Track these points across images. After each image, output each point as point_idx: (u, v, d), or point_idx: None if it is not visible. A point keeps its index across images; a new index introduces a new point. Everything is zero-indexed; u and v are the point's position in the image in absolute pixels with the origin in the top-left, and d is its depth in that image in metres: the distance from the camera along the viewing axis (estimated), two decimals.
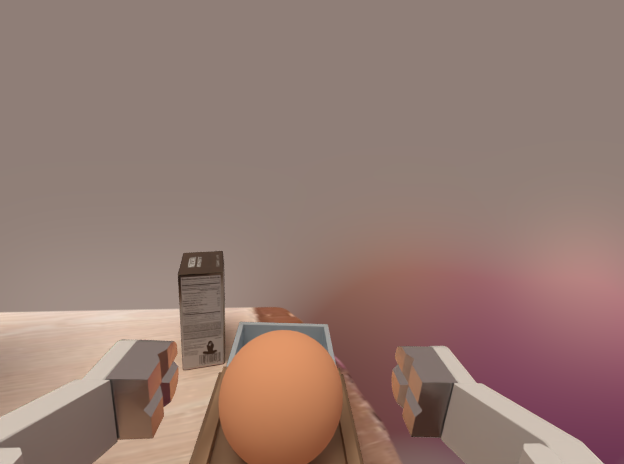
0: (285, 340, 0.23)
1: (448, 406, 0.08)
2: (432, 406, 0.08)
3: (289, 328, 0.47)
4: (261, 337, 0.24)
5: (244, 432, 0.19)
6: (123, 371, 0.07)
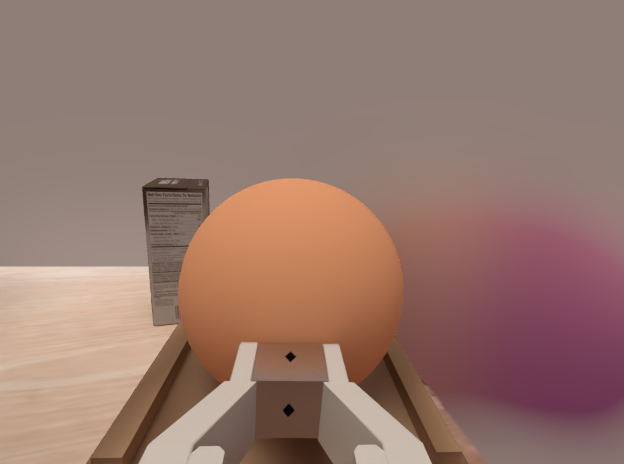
0: None
1: (321, 406, 0.07)
2: (304, 406, 0.07)
3: None
4: None
5: (223, 291, 0.09)
6: (263, 373, 0.07)
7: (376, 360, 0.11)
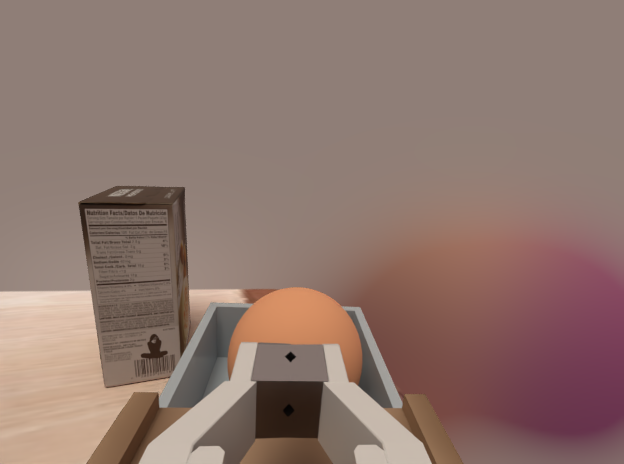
0: None
1: (321, 406, 0.07)
2: (304, 406, 0.07)
3: None
4: None
5: None
6: (263, 373, 0.07)
7: None
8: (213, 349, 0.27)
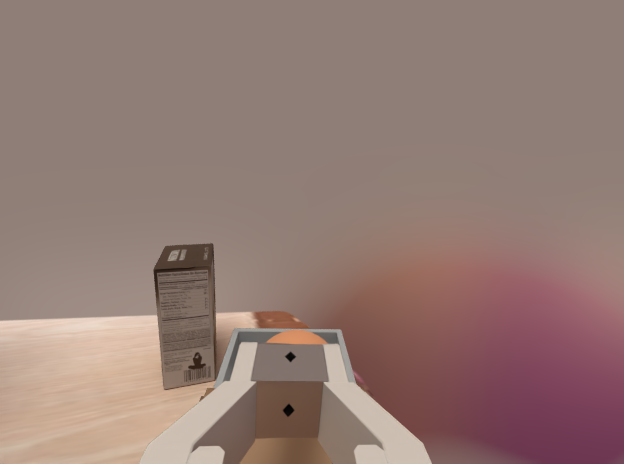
0: None
1: (321, 406, 0.07)
2: (304, 406, 0.07)
3: None
4: None
5: None
6: (263, 373, 0.07)
7: None
8: None
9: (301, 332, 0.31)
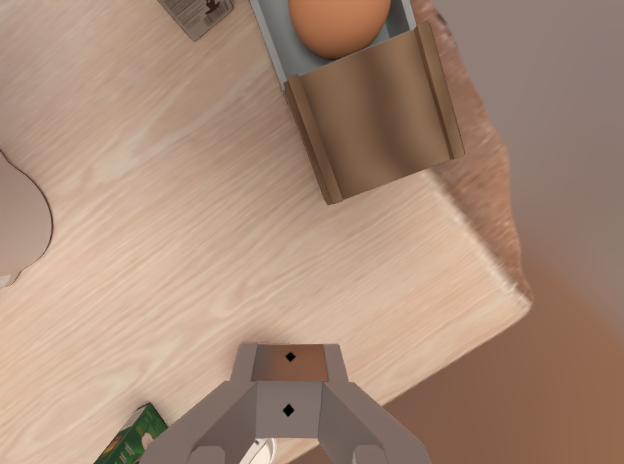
0: None
1: (321, 406, 0.07)
2: (304, 405, 0.07)
3: None
4: None
5: None
6: (263, 373, 0.07)
7: None
8: None
9: None
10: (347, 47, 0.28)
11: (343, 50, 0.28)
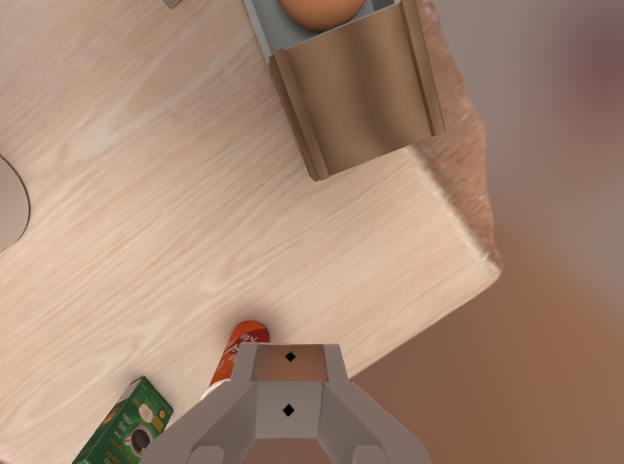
0: None
1: (321, 406, 0.07)
2: (304, 406, 0.07)
3: None
4: None
5: None
6: (263, 373, 0.07)
7: None
8: None
9: None
10: (331, 18, 0.28)
11: (328, 21, 0.28)
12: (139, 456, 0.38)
